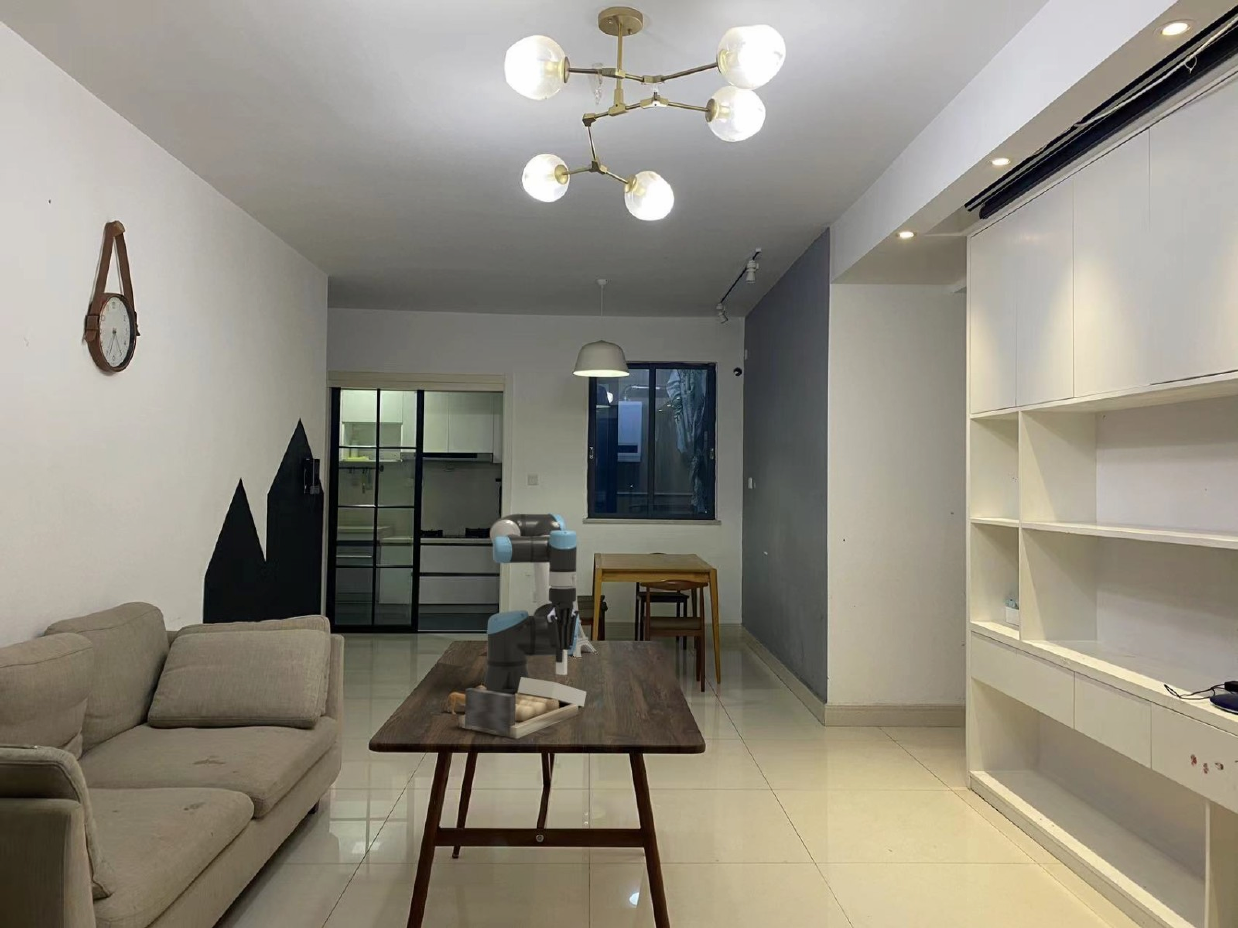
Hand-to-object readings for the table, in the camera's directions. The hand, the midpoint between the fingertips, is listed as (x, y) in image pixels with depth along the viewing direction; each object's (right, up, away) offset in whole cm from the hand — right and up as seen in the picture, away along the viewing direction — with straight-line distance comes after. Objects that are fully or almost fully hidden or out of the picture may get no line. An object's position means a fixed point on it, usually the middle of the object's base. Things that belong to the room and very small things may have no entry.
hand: (561, 674), depth 230 cm
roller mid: (-8, -7, -13) cm, 17 cm away
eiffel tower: (-1, -12, +73) cm, 74 cm away
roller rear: (-7, -4, -10) cm, 13 cm away
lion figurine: (-25, -8, -9) cm, 28 cm away
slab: (-3, -6, -4) cm, 7 cm away
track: (-9, -8, -15) cm, 20 cm away
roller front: (-11, -7, -17) cm, 21 cm away
